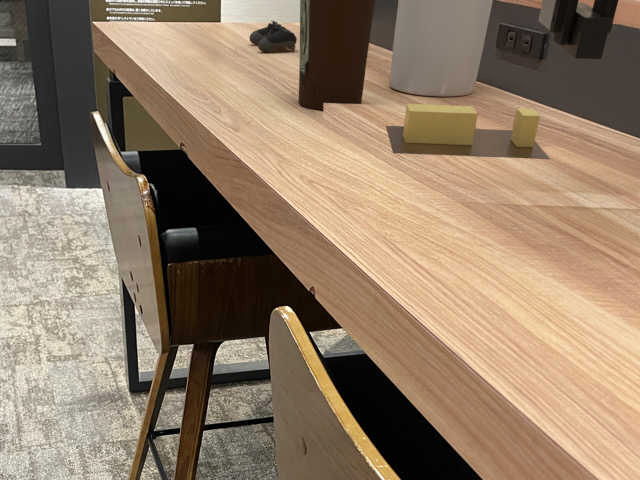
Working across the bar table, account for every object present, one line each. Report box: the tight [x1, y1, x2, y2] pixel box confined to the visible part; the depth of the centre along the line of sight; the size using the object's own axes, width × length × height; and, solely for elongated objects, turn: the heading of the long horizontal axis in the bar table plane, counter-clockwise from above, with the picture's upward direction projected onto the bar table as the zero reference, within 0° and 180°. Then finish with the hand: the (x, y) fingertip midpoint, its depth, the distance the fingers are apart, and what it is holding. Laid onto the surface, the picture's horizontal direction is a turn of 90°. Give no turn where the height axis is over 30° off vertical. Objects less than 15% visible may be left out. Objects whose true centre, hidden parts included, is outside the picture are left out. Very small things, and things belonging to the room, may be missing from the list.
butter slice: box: [511, 107, 541, 148], centre depth 98 cm, size 2×4×4 cm, turn 176°
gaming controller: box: [249, 20, 298, 53], centre depth 163 cm, size 12×8×5 cm, turn 10°
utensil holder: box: [389, 0, 494, 98], centre depth 128 cm, size 15×15×18 cm
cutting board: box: [385, 125, 551, 160], centre depth 100 cm, size 18×14×2 cm
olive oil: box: [298, 0, 376, 111], centre depth 115 cm, size 11×11×25 cm
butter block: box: [403, 103, 479, 145], centre depth 99 cm, size 8×4×4 cm, turn 86°
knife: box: [537, 0, 612, 60], centre depth 77 cm, size 22×2×3 cm, turn 174°
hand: (577, 41), depth 73 cm, fingers closed on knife, 2 cm apart
